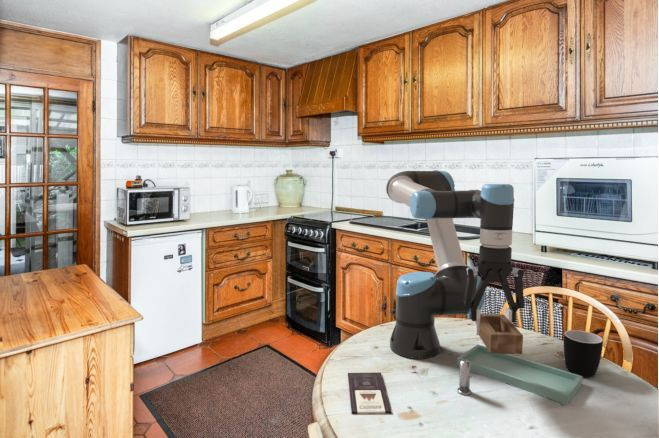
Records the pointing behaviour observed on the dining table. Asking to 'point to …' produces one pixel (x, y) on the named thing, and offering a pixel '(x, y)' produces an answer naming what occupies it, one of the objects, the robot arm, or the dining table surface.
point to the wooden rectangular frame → (500, 334)
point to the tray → (524, 374)
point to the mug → (582, 352)
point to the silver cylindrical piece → (464, 377)
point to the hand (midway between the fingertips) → (492, 333)
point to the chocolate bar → (368, 394)
